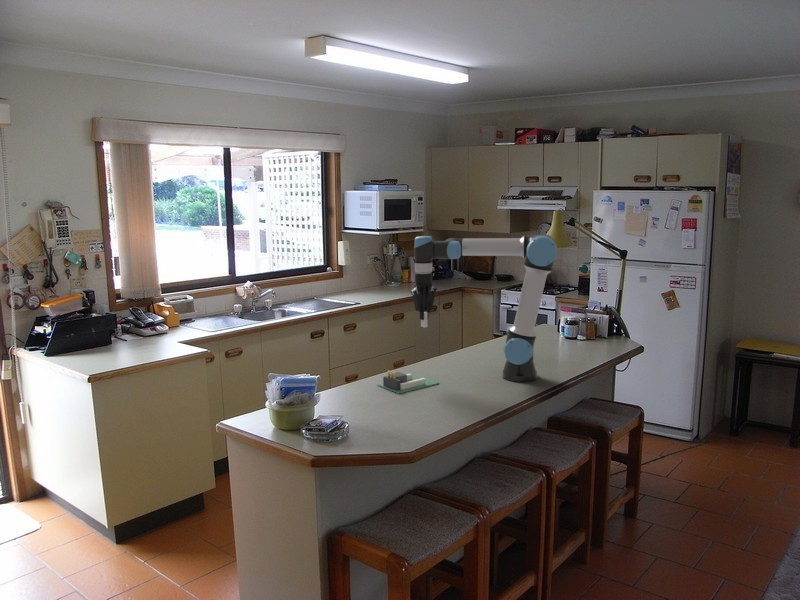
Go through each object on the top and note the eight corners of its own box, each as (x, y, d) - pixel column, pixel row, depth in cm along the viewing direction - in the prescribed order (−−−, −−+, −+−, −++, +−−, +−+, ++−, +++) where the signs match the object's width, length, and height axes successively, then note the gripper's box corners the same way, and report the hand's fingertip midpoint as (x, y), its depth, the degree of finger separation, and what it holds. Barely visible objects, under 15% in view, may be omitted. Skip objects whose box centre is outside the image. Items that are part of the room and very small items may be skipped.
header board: (439, 383, 288) (439, 366, 287) (398, 394, 275) (398, 376, 274) (417, 376, 300) (417, 360, 299) (377, 385, 287) (377, 368, 285)
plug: (407, 386, 284) (406, 374, 283) (397, 388, 281) (397, 377, 280) (398, 383, 288) (398, 371, 288) (388, 385, 285) (388, 373, 284)
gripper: (429, 270, 291) (430, 323, 295) (406, 273, 284) (407, 327, 288) (440, 271, 286) (441, 326, 290) (417, 274, 278) (418, 330, 282)
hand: (424, 326), depth 289 cm, fingers closed
